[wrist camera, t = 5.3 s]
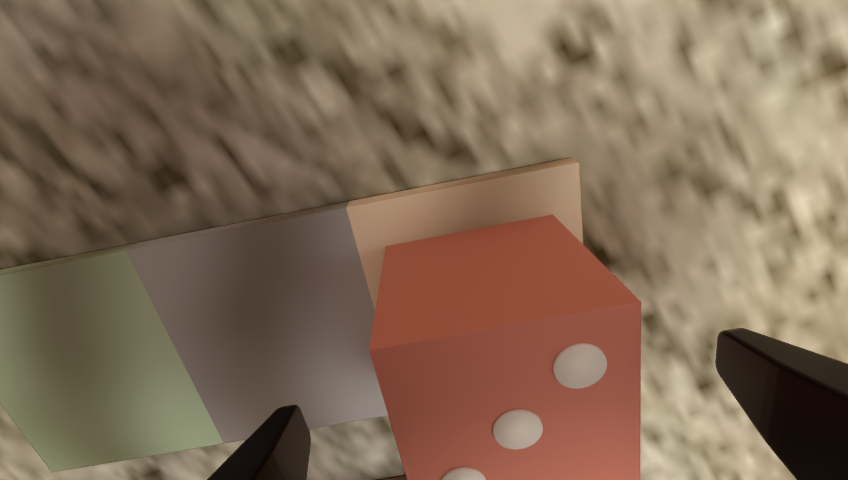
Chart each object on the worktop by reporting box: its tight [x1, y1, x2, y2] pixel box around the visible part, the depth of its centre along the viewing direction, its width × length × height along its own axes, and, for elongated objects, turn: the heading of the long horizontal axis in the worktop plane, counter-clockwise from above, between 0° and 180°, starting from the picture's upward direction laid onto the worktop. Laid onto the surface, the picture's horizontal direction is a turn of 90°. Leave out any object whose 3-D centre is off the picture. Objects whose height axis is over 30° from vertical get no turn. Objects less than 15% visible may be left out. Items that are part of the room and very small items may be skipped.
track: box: [0, 158, 583, 472], centre depth 12 cm, size 18×7×1 cm, turn 101°
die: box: [369, 215, 641, 480], centre depth 10 cm, size 4×4×5 cm
